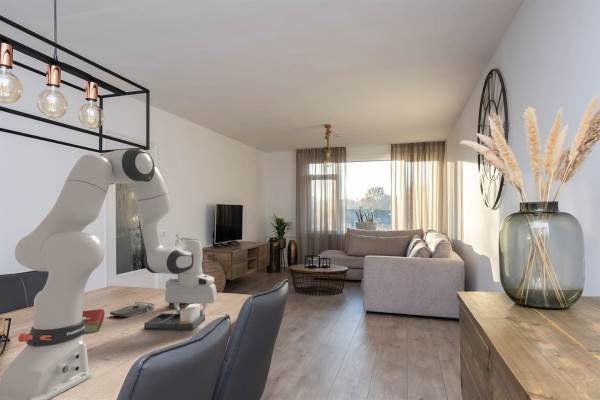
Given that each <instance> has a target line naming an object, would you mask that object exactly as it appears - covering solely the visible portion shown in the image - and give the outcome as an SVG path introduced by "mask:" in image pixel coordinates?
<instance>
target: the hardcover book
mask: <svg viewBox="0 0 600 400" xmlns="http://www.w3.org/2000/svg"><path fill="white" fill-rule="evenodd" d="M105 313H106V312H105V308H98V309H91V310H83V319H84V325H85V328H84V333H83V334H87V333H95V332H100V329H101V327H102V323H103V321H104V319H105Z"/></svg>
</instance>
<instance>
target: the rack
mask: <svg viewBox="0 0 600 400" xmlns="http://www.w3.org/2000/svg"><path fill="white" fill-rule="evenodd" d="M205 321H206V313H205V314H204V315H200V317H199V318H198V319H197V320H195V321H194V322H193V323H190V322H184V321H180V314H177V313H167V312H166V313H159V314H158V315H156V316H154V317H152V318H151V319H149V320H148V321H146V322H144V329H143V330H147V331H148V330H149V331H151V330H152V331H184V332H186V331H189V332H190V331H194V330H195V329H196V328H198V327H199V326H200V325H201V324H203V322H205Z"/></svg>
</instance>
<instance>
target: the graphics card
mask: <svg viewBox="0 0 600 400" xmlns="http://www.w3.org/2000/svg"><path fill="white" fill-rule="evenodd" d="M155 307H156V304H155V303H153V302H144V301H135V302H134V304H133V305H128V306H125V307H122V308H119V309H118V308H117V309H116V310H115V309H114V310H112V311H111V310H110V311H109V315H110V316H115V317H120V318H121V319H123V317H124V318H130V317H133V315H134V316H137V315H139V314H144V315H145V314H146V313H150V312H153V311H155V309H156V308H155ZM143 311H144V312H143Z"/></svg>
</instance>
